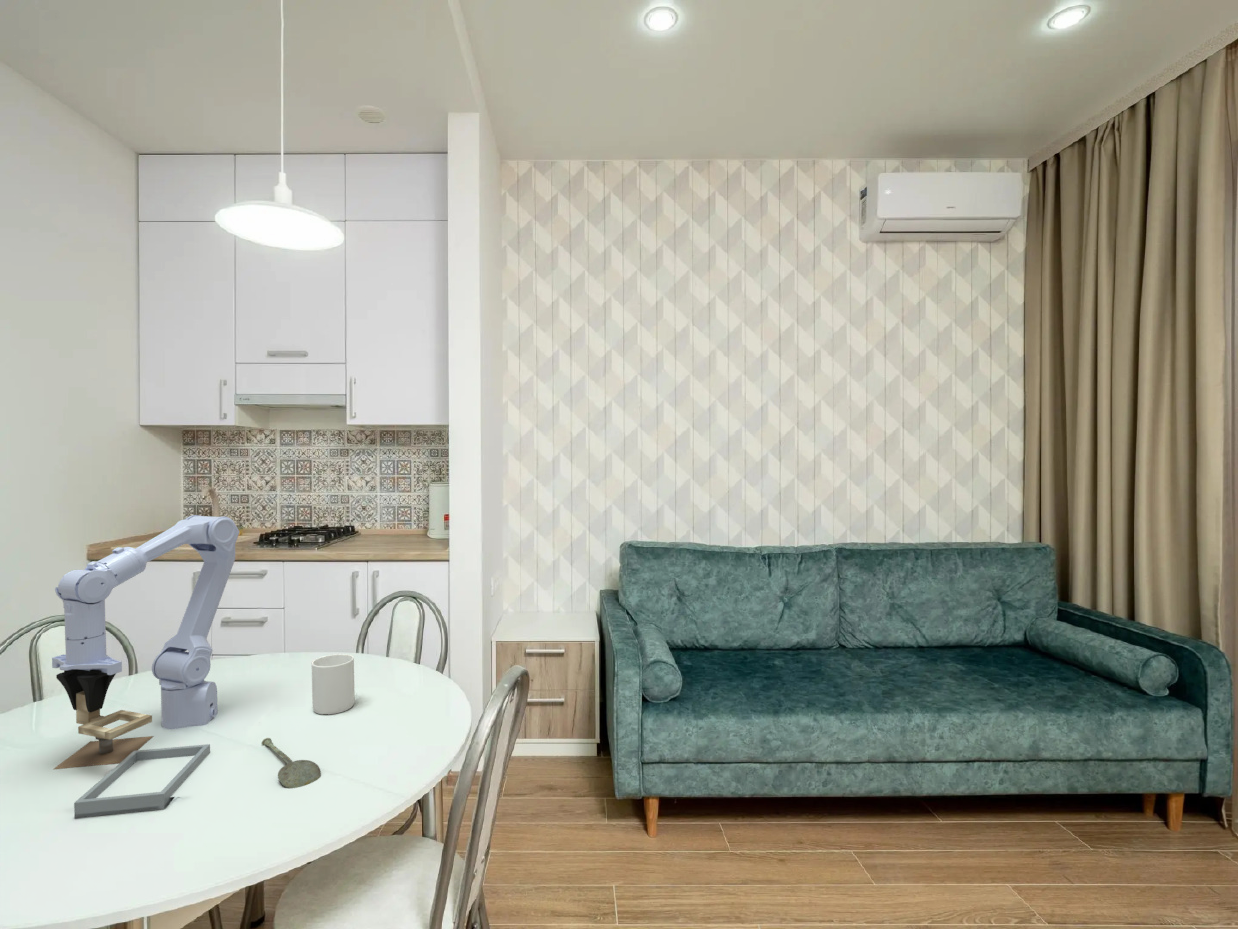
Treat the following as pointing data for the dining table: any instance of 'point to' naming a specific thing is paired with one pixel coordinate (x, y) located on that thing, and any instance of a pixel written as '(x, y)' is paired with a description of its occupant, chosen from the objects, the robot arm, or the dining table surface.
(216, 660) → the dining table surface
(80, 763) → the block
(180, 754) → the grey rectangular frame
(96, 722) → the wooden knob frame
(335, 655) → the mug
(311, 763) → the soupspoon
